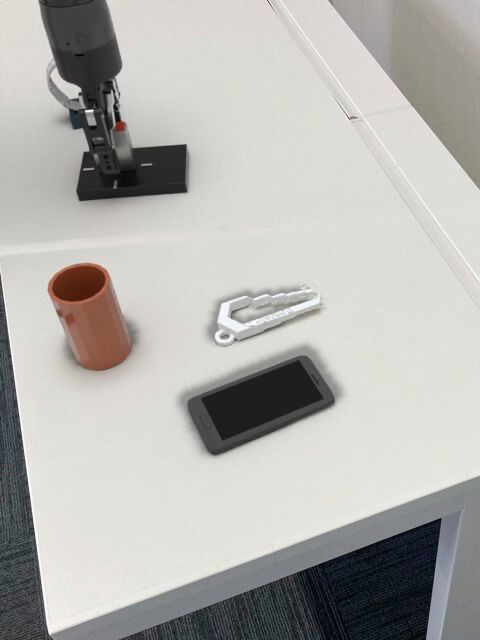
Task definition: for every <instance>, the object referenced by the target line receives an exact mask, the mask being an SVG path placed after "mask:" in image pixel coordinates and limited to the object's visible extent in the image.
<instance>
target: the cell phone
mask: <svg viewBox="0 0 480 640" xmlns="http://www.w3.org/2000/svg"><path fill="white" fill-rule="evenodd" d="M335 398H336V397H335V395H334V393H333V391H332V390H331V387H329V385H328V384H327V381H326V380H325V378H323V376H322V374H321V373H320V371H319V369H318V368H317V367H316V365H315V364H314V362H313V361H312V359H311V358H310V357H309V356H308V355H306V354H301V355H297V356H295V357H291V358H289V359H287V360H284V361H281V362H279V363H276V364H274V365H271V366H269V367H266V368H264V369H261V370H258V371H256V372H253V373H251V374H248V375H246V376H243V377H241V378H238V379H235V380H233V381H231V382H228V383H225V384H223V385H220V386H217V387H215V388H213V389H210V390H208V391H205V392H202V393H200V394H198V395H195V396H192V397H191V398H189V399H188V401H187V409H188V412H189V413H190V414H189V415H190V416H191V418H192V420H193V422H194V424H195V426H196V428H197V430H198V432H199V434H200V437H201V439H202V440H203V442H204V444H205V447H206V449H207V450H208V451H209V452H210V453H211V454H213V455H214V454H219V453H222V452H224V451H228V450H229V449H232V448H234V447H236V446H239V445H242V444H244V443H246V442H248V441H251V440H253V439H255V438H258V437H261V436H263V435H265V434H268V433H270V432H272V431H275V430H277V429H280V428H283V427H284V426H286V425H289V424H292V423H294V422H296V421H299V420H301V419H303V418H306V417H308V416H310V415H313V414H315V413H318V412H320V411H322V410H326V409H327V408H329V407H331V406H332V405H333V404H334V403H335V400H336V399H335Z"/></svg>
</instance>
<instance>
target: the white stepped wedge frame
mask: <svg viewBox="0 0 480 640" xmlns="http://www.w3.org/2000/svg"><path fill="white" fill-rule="evenodd" d="M313 296H315V298H313V299H310V300H307V301H304V302H301V303H299V304H296V305H293V306H291V307H287V308H284V309H282V310H279V311H276V312H273V313H271V314H268V315H264V316H262V317H259V318H256V319H254V320H250V321H247V322H245V323H242V322H239V321H237V320H235V319H233V318H232V317H231V316H232V312H235V311H236V310H239V309H242V308H245V307H248V306H250V307H252V308H255V309H258V307H261V306H263V305H266V304H268V303H270V304H271V305H274V306H275V305H276V304H277V303H280V302H282V301H285V302H290V300H293V299H300V298H302V297H307V298H308V297H309V298H310V297H313ZM321 296H322V295H321V293H320V292H319V291H318V292H317V291H316V290H313V289H311V288H308V289H305V290H303V289H302V290H298V291H291V292H288V293H284V292H280V293H278V294H275V295H270V294H267V293H265V294H262V295H259V296H257V297H254V298H252V297H249V295H247V294H246V295H243V296H239V297H237V298H234V299H230V300H227V301H226V302H223V303H222V302H221V305H220V309H219V313H218V316H217V320H216V321H217V322H216V323H217V328H218V330H217V331H216V332H215V334H214V340H215V344H217V345H218V346H220V347H228V346H230V345H232V344H234V342H235V341H236V340H238V341H240V340H243V339H246V338H249V337H252V336H255V335H258V334H260V333H264V331H265V330H268V329H270V328H273V327H276V326H279V325H281V324H282V323H283V322H286V321H289V320H292V319H294V318H296V316H299V315H301V314H305V313H307V312H309V311H312V310H315V309H318V308H320V307H321V299H322V297H321ZM223 336H229V337H228V338H226V339H222V337H223Z"/></svg>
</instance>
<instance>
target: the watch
mask: <svg viewBox="0 0 480 640" xmlns="http://www.w3.org/2000/svg"><path fill="white" fill-rule="evenodd" d="M55 69H57V67H56V63H55V60H54V57H53V58H52V59H51V60H50V61H49V62H48V65H47V68H46V82H47V88H48V91H49V92H50V93H51V95H52V96H53V98H54V99H55V100H56V101H57V102H58V103H59V104H61V105H62V106H63V107H64V108H66V109H68V114H69V119H70V123H71V126H72V130H74V131H75V130H80V129H83V126H82V123H81V120H80V117H79V115H78V112H79V109H83V108H82V106H81V105H80V103H79V97H75V98H69V96H68V95H66V94H65V93H64V92H63V91H62V90H61V89H60V88H59V87H58V86H57V85H56V83H55V82H54V81H53V79H52V77H51V75H52V73H53V72H54V70H55Z"/></svg>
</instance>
